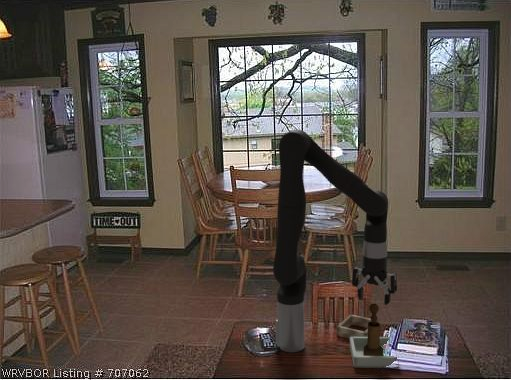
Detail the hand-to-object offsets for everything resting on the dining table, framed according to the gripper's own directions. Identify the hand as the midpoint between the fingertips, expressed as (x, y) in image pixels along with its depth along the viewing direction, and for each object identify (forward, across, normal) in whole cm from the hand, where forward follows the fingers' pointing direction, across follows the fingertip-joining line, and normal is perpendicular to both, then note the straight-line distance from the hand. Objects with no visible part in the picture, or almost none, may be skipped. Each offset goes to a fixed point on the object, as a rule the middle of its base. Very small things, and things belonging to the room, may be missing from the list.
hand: (373, 301), depth 171 cm
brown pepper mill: (+19, 0, 0) cm, 19 cm away
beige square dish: (+20, -11, +14) cm, 26 cm away
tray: (+20, 0, 0) cm, 20 cm away
